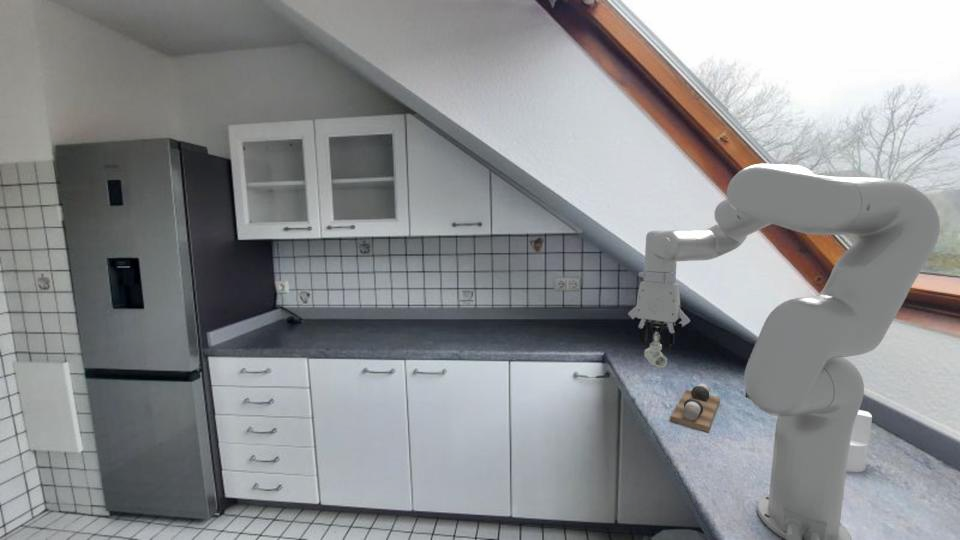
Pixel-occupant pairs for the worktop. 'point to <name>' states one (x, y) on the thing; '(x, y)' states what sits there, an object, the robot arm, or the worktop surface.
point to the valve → (656, 345)
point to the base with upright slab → (859, 442)
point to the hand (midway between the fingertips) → (656, 343)
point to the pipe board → (702, 418)
